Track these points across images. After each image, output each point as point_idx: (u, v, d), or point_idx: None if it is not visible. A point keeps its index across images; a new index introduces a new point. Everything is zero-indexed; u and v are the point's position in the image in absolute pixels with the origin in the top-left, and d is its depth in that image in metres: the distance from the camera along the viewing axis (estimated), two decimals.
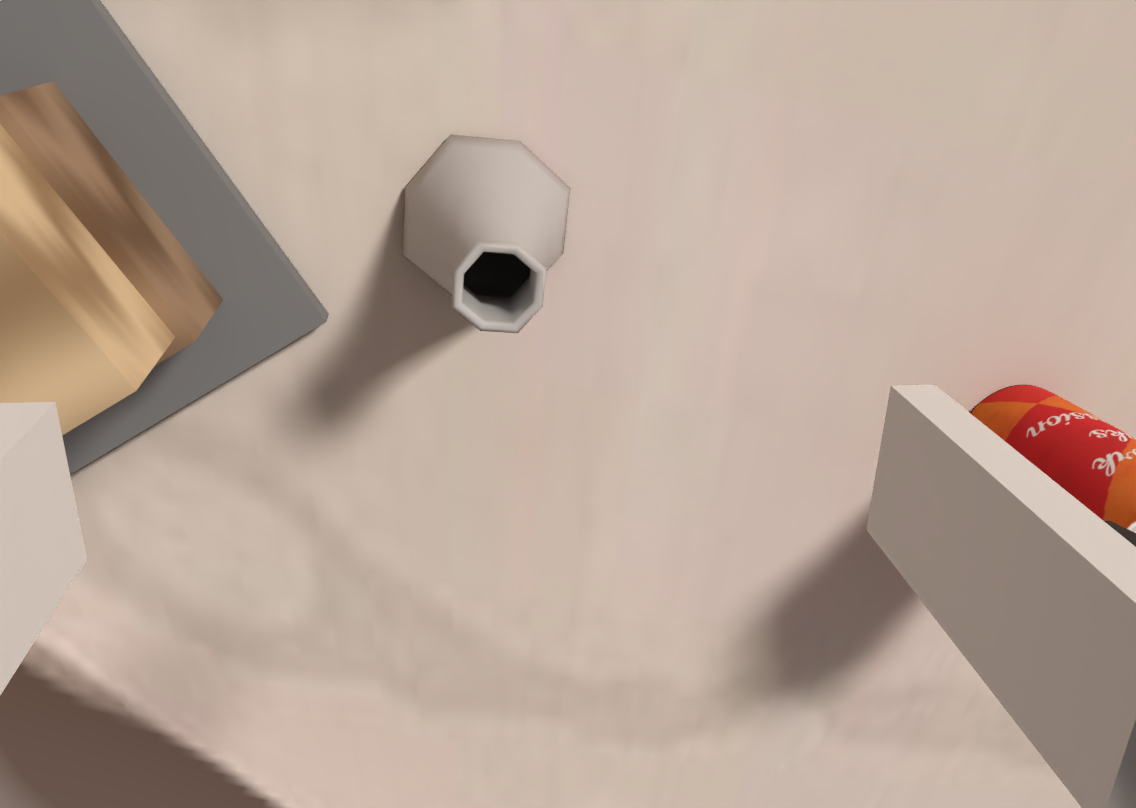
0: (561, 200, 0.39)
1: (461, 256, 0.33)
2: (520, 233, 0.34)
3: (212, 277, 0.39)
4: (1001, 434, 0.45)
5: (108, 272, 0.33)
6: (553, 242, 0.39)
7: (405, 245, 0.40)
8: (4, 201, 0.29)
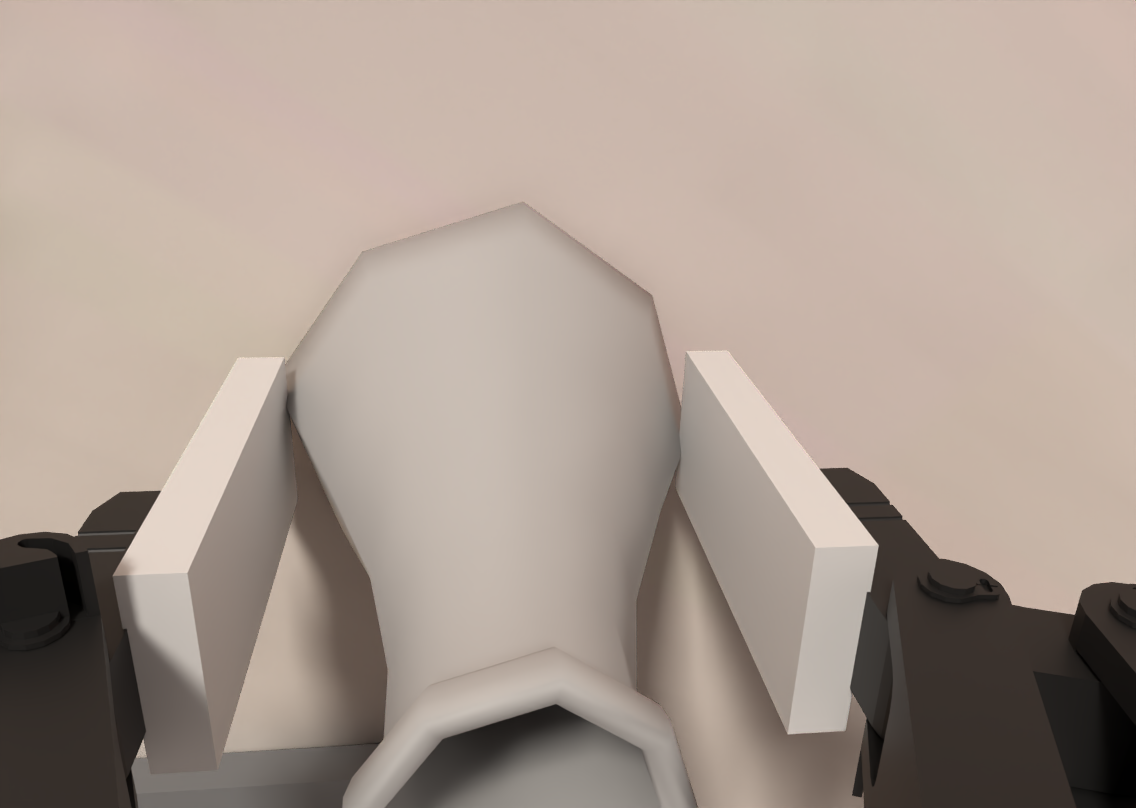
0: (523, 259, 0.15)
1: None
2: (471, 523, 0.11)
3: None
4: None
5: None
6: (598, 343, 0.15)
7: None
8: None
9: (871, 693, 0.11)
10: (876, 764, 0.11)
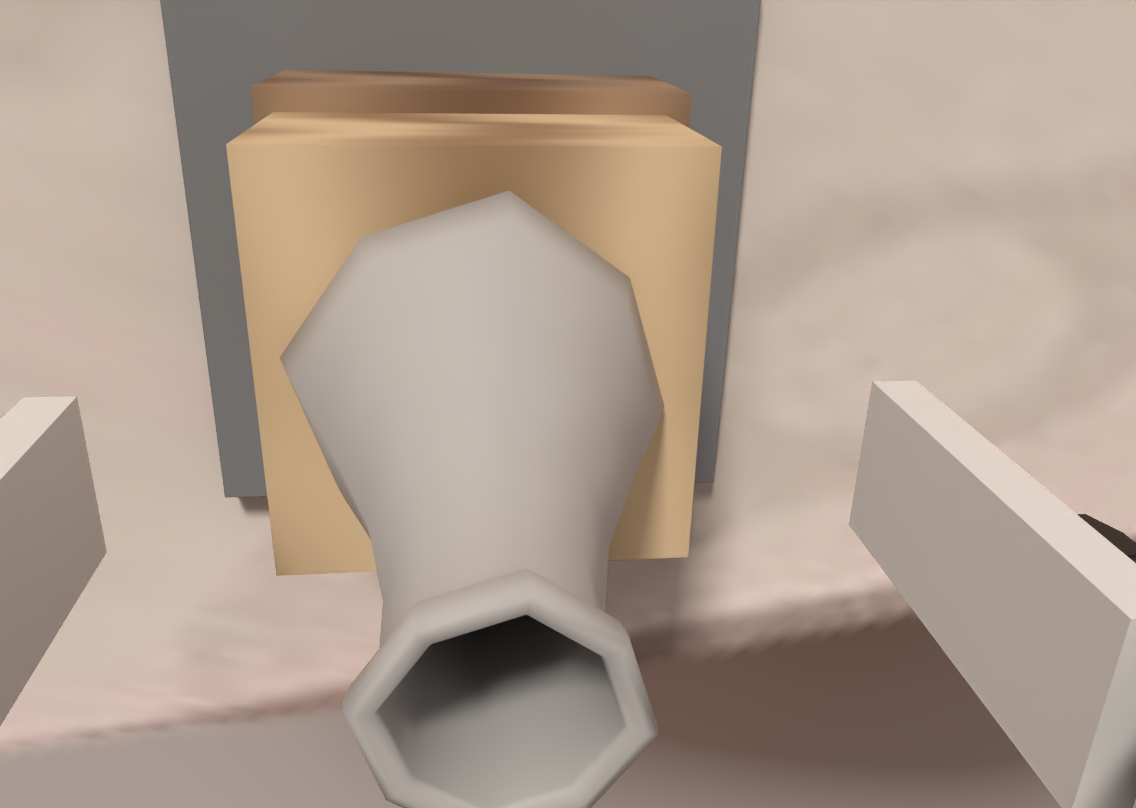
0: (508, 242, 0.16)
1: None
2: (457, 473, 0.12)
3: (615, 67, 0.27)
4: None
5: (534, 119, 0.21)
6: (577, 319, 0.16)
7: None
8: (367, 133, 0.19)
9: None
10: None
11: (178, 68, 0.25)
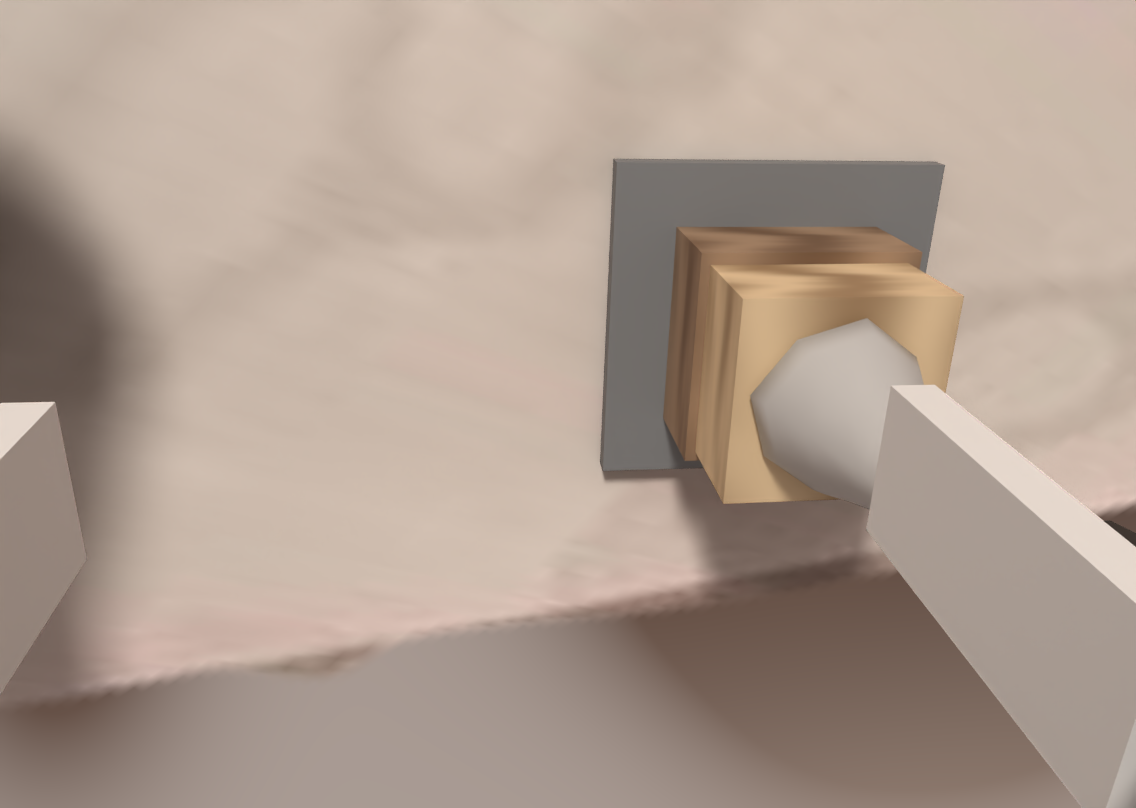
0: (878, 345, 0.36)
1: None
2: None
3: (857, 222, 0.47)
4: None
5: (847, 269, 0.41)
6: (911, 380, 0.36)
7: (809, 486, 0.40)
8: (788, 286, 0.39)
9: None
10: None
11: (618, 227, 0.45)
